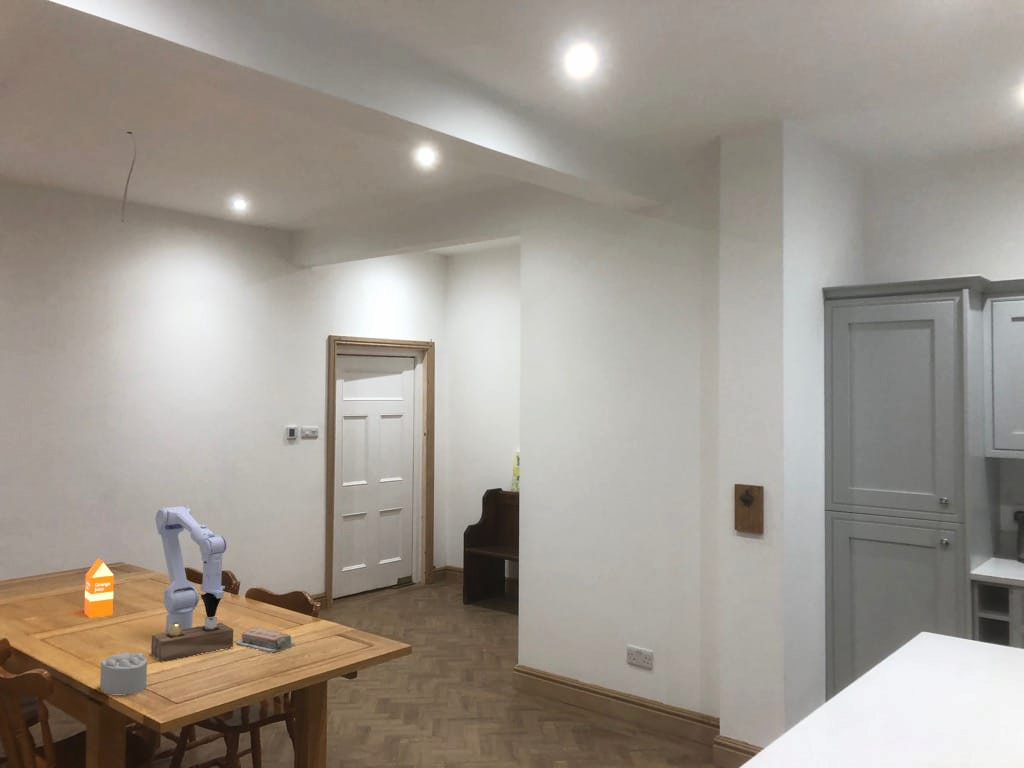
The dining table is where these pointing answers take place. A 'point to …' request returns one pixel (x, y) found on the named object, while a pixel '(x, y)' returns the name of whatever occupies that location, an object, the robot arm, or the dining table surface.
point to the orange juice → (99, 590)
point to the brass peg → (175, 630)
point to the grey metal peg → (210, 624)
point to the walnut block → (191, 642)
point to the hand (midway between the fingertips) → (210, 616)
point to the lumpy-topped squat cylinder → (123, 673)
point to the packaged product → (265, 640)
